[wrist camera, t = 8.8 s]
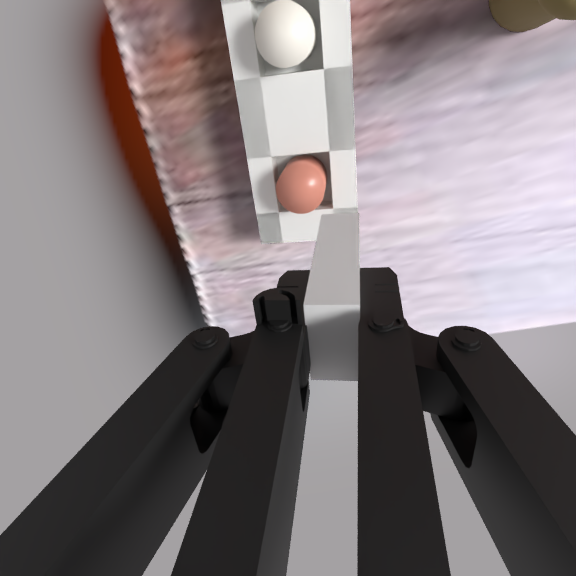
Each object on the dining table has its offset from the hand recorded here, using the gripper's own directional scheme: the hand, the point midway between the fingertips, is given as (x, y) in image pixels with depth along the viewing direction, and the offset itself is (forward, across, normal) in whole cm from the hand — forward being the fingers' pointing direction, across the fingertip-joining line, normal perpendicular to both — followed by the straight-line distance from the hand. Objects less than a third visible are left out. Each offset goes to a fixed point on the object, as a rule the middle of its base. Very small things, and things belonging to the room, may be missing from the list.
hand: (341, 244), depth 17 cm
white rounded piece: (+25, -5, +8) cm, 26 cm away
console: (+27, -5, +2) cm, 27 cm away
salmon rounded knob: (+25, -4, -4) cm, 25 cm away
